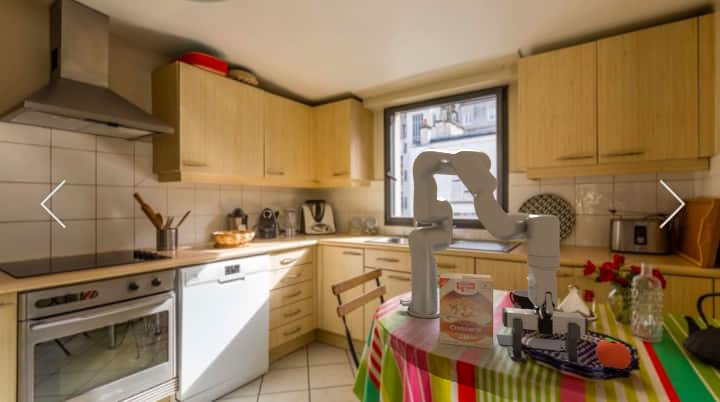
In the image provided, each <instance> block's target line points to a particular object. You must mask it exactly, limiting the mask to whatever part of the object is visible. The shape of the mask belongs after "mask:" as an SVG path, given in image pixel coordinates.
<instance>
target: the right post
mask: <svg viewBox="0 0 720 402" xmlns="http://www.w3.org/2000/svg"><path fill="white" fill-rule="evenodd" d="M578 340H581V334H580V326H579V325H570V333H564V341H565V352H559V355H560V354H561V356H562V357H563V358H564V359H565V360H568V361H571V362H575V363H579V364H583V362H582V361H581V360H580V358H579V357H578V354H577V350H578ZM561 356H560V357H561ZM583 365H584V364H583Z"/></svg>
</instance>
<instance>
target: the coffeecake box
mask: <svg viewBox="0 0 720 402" xmlns="http://www.w3.org/2000/svg"><path fill="white" fill-rule="evenodd" d="M438 281H439V284H438V287H439V288H438V291H439V292H438V295H439V297H438V301H439V306H438V307H439V316H438V319H439V321H438V322H439V324H438V325H439V328H438V329H439V331H438V333H439V344H446V345H453V346H455V345H456V346H457V345H458V346H465V347H475V348H482V349H494V280H493V277H492V275H491V274H476V273H473V274H472V273H457V272H455V273H454V272H440V273H439V280H438Z"/></svg>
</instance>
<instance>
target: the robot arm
mask: <svg viewBox="0 0 720 402" xmlns="http://www.w3.org/2000/svg"><path fill="white" fill-rule="evenodd" d="M491 167H492V160H491V158H490V156H489V155H488V154H487V153H485V152H484V151H482V150H473V149H459V150H458V151H449V150H441V149H440V150H439V149H427V150H424V151H422V152H420V153H419V154H418V155H417V156H416V157H415V159H414V161H413V164H412V179H413V197H412V198H413V201H412V202H413V203H412V205H413V206H412V211H413V213H412V215H413V218H414V221H415V222H417V223H419V224H423V225H424V224H426V225H427V224H431V226H423V227H416V228H414V229H413V230H412V231H410V233H409V235H408V238H407V239H408V240H407V241H408V242H407V243H408V248H409V255H410V269H411V270H410V272H411V274H410V275H411V276H410V277H411V278H410V279H411V280H410V282H411V283H410V284H411V296H410V298H408V299H405V298H404V299H403V298H401V299H399V305H401V306H402V307H407V308H406V311H407V313H408V314H409V315H410V316H413V317H416V318H420V319H421V318H422V319H434V318H439V306H438V301H439V297H438V295H439V292H438V263H437V259H436V257H435V255H434V253H435V252H442V251H445V250H448V249H449V247H451V244H452V239H453V220H454V212H453V211H454V210H453V208H452V204H451V203H450V201H449V200H447V199H445V198H443V197H438V184H437V181H436V179H435V177H434V176H435V175H441V176H443V175H446V176H457V177H458V179H459V180H460V182H462V184H463V185H464V187H465V188H466V189H467V191H469V193H470V194H471V196H472V198H473V207H474V211H475V214H476V217H477V219H478V221H480V223H481V225H482V226H483V227H484V228H485V230H486V231H487V232H488V233H489V235H490V236H492V237H493V238H494V239H496V240H498V241H501V242H508V241H515V240H524V239H525V240H526V267H528V276H529V280H528V281H527V282H528V285H527V290H528V298H529V299H530V301H531V302H532V303H533V305H534V310H539V312H540V318H538V330H537V333H538V334H539V335H547V336H552V335H553V334H554V332H553V311H554V309H556V308H557V305H558V283H557V281H558V280H557V270H560V267H561V265H560V256H561V255H560V254H561V253H560V244H561V243H560V240H561V239H560V237H561V236H560V231H561V229H560V224H561V223H560V218H559V217H558V216H557V215H553V214H533V213H532V214H530V213H525V212H508V213H507V212H506V211H505V210H504V209H503V208H502V206H501V205H500V204H499V203H498V201H497V199H496V197H495V196H494V192H495V190H496V189H497V188H498V185H499V182H498V179H497V178H496V177H495V176H494V174H492V172H491V171H490V170H491V169H492V168H491ZM543 310H544V312H543Z"/></svg>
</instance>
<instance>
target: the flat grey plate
mask: <svg viewBox="0 0 720 402" xmlns="http://www.w3.org/2000/svg"><path fill="white" fill-rule="evenodd" d="M496 338H497V341H498V344H499V346H502V347H507V346H508V347H512V335H510V334H498V333H497V334H496ZM532 338H533V339H532V340H531V341H530V342H529V344H530V345H532V346H533V347H534V348H536V349H535V350H538V349H540V351H548V350H559V349H560V348H561V347H563V348H564V350H565V340H563V339H562V340H561V339H560V340H559V339H550V338H542V337H541V338H540V337H539V338H538V337H532ZM560 345H561V346H560ZM577 353H579V354H580V351H579V350H578V349H577Z"/></svg>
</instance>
